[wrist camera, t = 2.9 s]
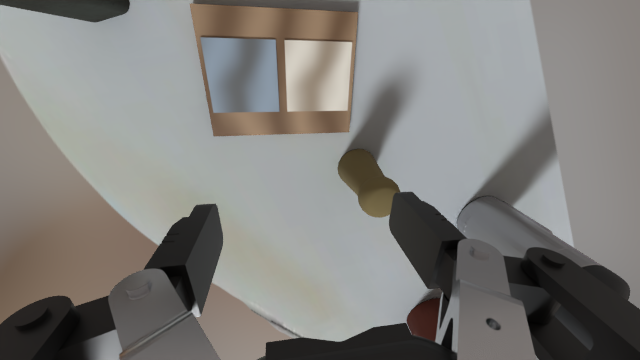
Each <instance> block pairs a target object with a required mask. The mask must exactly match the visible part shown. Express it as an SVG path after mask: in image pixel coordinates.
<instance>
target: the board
mask: <svg viewBox="0 0 640 360" xmlns="http://www.w3.org/2000/svg"><path fill="white" fill-rule="evenodd" d="M190 8H191V14H192V19H193V25H194V30H195V36H196V41H197V47H198V52H199V58H200V63H201V69H202V74H203V80H204V85H205V91H206V96H207V102H208V107H209V113H210V118H211V124H212V129H213V135H214V136H239V135H271V134H303V133H336V132H349V127H350V113H351V99H352V86H353V72H354V59H355V45H356V32H357V18H358V12H342V11H323V10H304V9H285V8H266V7H247V6H228V5H209V4H190Z"/></svg>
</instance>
